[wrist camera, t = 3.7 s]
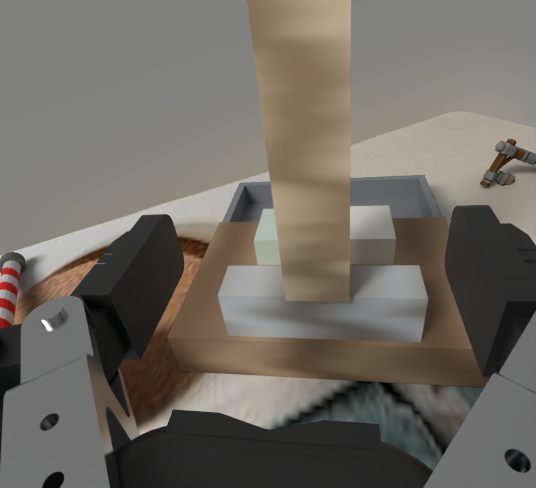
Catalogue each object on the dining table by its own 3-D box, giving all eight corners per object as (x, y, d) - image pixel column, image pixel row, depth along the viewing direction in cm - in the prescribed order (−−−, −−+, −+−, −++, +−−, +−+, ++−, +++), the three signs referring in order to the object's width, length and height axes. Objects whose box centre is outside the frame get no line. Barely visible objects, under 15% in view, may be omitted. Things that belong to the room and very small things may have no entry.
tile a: (387, 229, 27) (388, 205, 26) (393, 264, 24) (395, 238, 23) (330, 230, 28) (329, 207, 27) (329, 264, 25) (328, 239, 24)
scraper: (412, 304, 21) (462, -62, 12) (421, 347, 19) (493, -69, 10) (238, 301, 23) (166, -18, 14) (227, 340, 21) (130, -14, 11)
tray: (421, 199, 36) (424, 174, 34) (439, 250, 29) (444, 222, 28) (243, 204, 39) (239, 182, 38) (225, 251, 33) (219, 227, 31)
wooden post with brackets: (468, 179, 36) (494, 133, 34) (523, 192, 39) (551, 150, 37) (482, 187, 35) (510, 139, 33) (538, 200, 38) (568, 156, 36)
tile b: (319, 230, 28) (318, 207, 27) (317, 264, 25) (315, 239, 24) (266, 231, 29) (263, 208, 28) (257, 264, 26) (253, 240, 25)
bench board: (438, 250, 29) (443, 217, 28) (486, 387, 20) (499, 350, 18) (226, 251, 33) (219, 222, 31) (180, 370, 23) (166, 337, 21)
